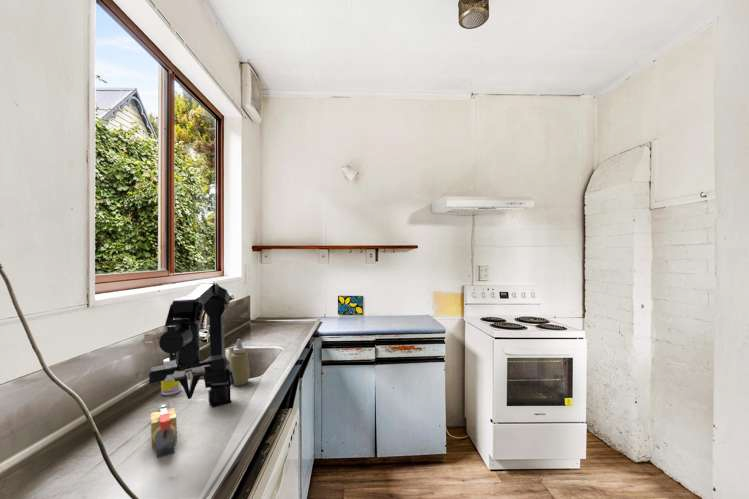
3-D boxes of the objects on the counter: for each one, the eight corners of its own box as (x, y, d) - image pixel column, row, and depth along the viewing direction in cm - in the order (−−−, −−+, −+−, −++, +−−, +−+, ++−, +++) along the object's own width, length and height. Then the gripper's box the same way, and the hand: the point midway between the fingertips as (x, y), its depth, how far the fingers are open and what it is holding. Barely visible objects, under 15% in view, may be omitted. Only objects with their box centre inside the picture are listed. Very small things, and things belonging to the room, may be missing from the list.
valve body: (173, 421, 110) (172, 395, 110) (179, 453, 92) (178, 422, 92) (150, 426, 107) (150, 400, 107) (152, 461, 89) (151, 429, 89)
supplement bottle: (166, 389, 137) (166, 356, 137) (184, 388, 138) (183, 356, 138) (157, 396, 131) (156, 362, 131) (175, 395, 131) (175, 361, 131)
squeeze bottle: (230, 388, 136) (229, 342, 136) (228, 382, 143) (227, 338, 144) (251, 384, 140) (250, 340, 140) (249, 378, 147) (248, 336, 147)
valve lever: (172, 428, 90) (172, 419, 90) (158, 431, 88) (158, 423, 88) (169, 408, 102) (168, 400, 102) (157, 410, 100) (156, 403, 100)
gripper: (218, 332, 109) (220, 381, 109) (147, 342, 98) (149, 397, 98) (225, 339, 99) (227, 393, 100) (148, 351, 89) (150, 412, 89)
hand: (189, 398), depth 97 cm, fingers closed
